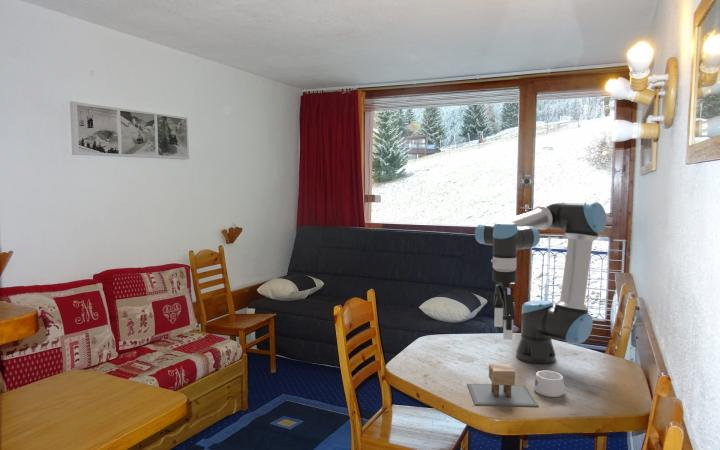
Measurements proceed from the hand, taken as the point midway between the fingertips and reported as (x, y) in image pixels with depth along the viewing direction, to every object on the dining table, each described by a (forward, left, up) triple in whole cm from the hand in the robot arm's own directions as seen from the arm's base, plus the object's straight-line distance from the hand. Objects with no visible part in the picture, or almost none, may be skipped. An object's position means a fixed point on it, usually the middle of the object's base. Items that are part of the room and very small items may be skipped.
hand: (503, 332), depth 165 cm
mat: (0, 0, -22) cm, 22 cm away
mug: (-17, -5, -22) cm, 28 cm away
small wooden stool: (0, 0, -21) cm, 21 cm away
